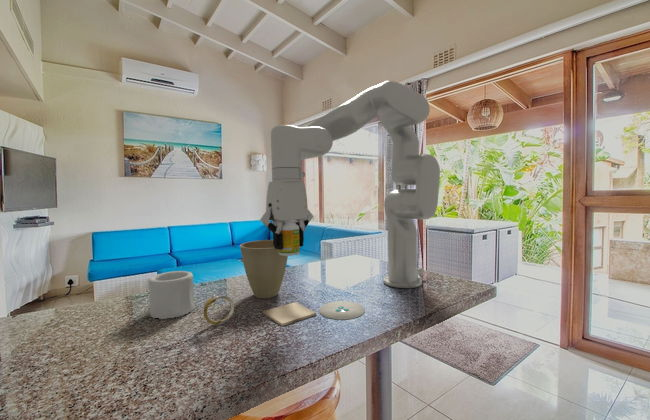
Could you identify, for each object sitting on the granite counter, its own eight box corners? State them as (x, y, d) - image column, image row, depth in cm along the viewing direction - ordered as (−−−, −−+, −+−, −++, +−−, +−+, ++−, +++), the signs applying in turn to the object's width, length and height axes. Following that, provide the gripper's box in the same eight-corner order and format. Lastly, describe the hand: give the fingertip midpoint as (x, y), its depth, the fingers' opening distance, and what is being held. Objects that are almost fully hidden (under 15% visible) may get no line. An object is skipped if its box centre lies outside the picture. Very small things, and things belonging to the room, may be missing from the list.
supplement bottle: (296, 256, 75) (295, 217, 74) (275, 256, 76) (274, 217, 75) (302, 252, 80) (301, 215, 80) (282, 251, 81) (281, 215, 81)
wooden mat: (295, 304, 86) (294, 302, 86) (316, 314, 78) (316, 312, 78) (262, 313, 80) (262, 311, 80) (282, 326, 72) (282, 323, 72)
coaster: (343, 298, 89) (343, 298, 89) (374, 310, 80) (374, 309, 80) (310, 309, 82) (310, 308, 82) (339, 323, 72) (339, 322, 72)
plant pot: (242, 305, 86) (240, 249, 85) (241, 289, 100) (239, 241, 99) (295, 299, 90) (293, 245, 89) (286, 284, 104) (285, 238, 103)
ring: (204, 330, 71) (202, 296, 70) (203, 324, 74) (202, 292, 73) (235, 324, 74) (234, 291, 73) (233, 319, 77) (232, 288, 76)
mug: (201, 310, 83) (199, 274, 82) (158, 324, 75) (156, 284, 74) (181, 299, 92) (179, 267, 91) (141, 310, 84) (138, 274, 84)
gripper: (306, 177, 85) (307, 241, 86) (248, 176, 74) (251, 249, 75) (322, 176, 79) (324, 245, 80) (263, 174, 69) (265, 254, 70)
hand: (288, 246), depth 78 cm, fingers closed on supplement bottle, 5 cm apart
